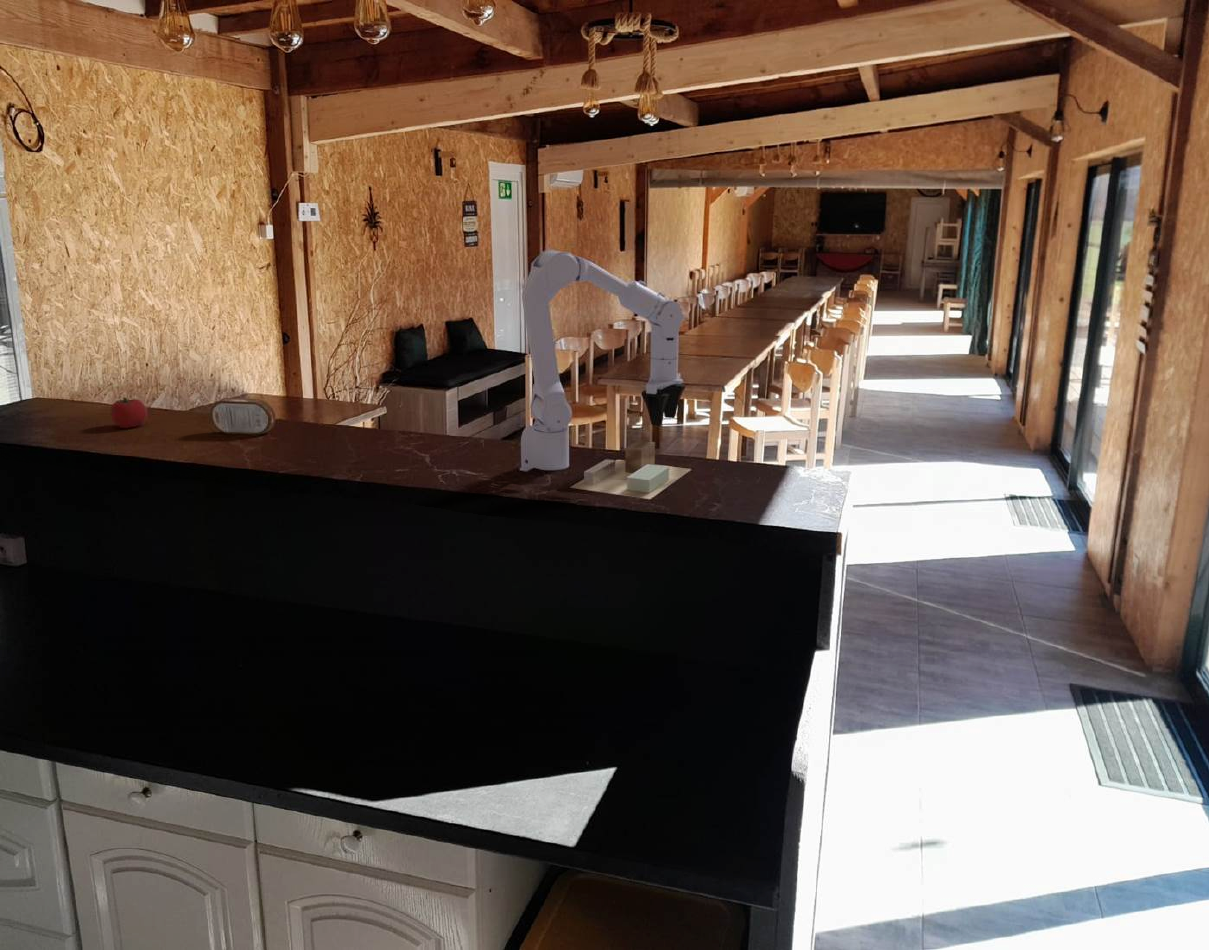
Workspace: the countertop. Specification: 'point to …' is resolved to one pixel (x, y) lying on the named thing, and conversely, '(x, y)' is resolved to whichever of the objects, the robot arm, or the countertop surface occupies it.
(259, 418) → the tin
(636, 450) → the block
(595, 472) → the block
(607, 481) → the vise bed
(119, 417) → the tomato
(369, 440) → the countertop surface
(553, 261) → the robot arm
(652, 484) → the block
